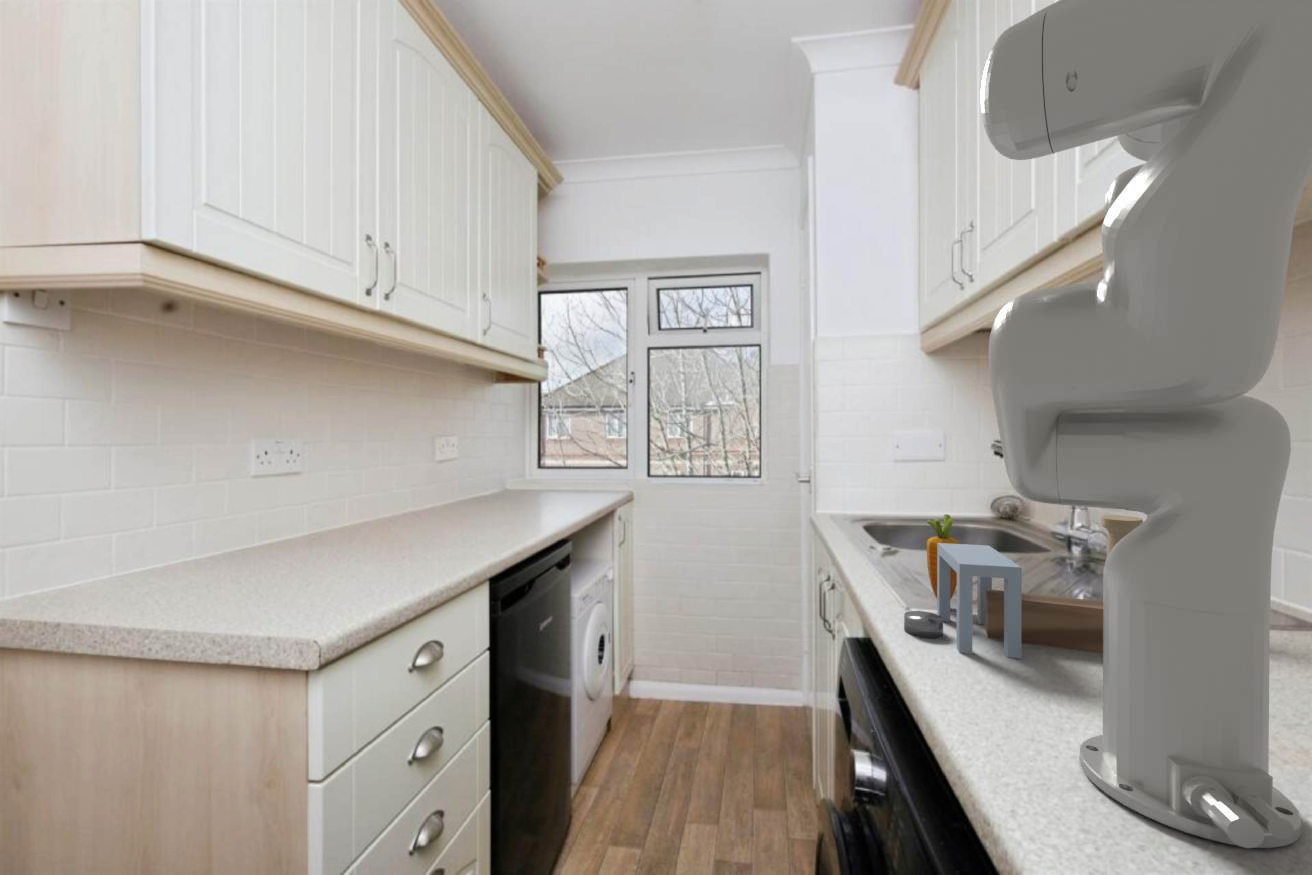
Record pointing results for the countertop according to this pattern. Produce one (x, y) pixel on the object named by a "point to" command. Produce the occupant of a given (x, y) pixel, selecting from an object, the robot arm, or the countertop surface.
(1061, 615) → the brown block
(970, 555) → the low shelf
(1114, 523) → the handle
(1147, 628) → the robot arm
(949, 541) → the carrot
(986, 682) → the countertop surface
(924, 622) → the grey metal short cylinder
